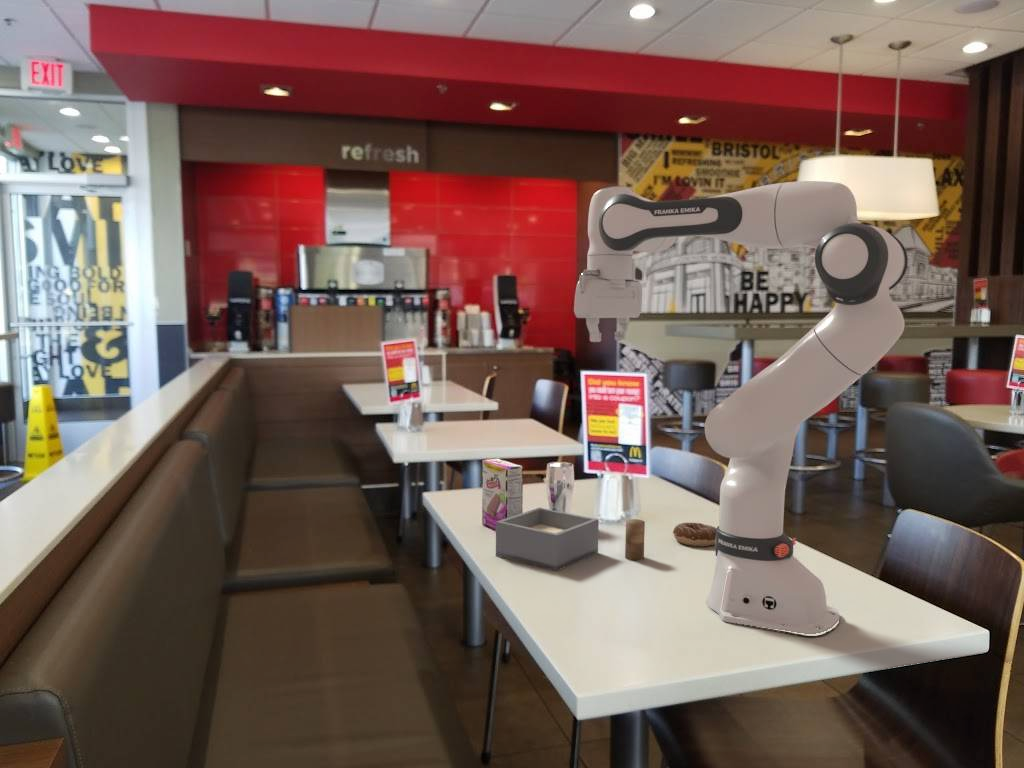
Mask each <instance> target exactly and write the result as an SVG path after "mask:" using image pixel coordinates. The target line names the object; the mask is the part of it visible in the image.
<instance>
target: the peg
mask: <svg viewBox="0 0 1024 768" xmlns="http://www.w3.org/2000/svg"><path fill="white" fill-rule="evenodd" d="M645 523H646V522H645V520H643V519H638V518H637V519H635V518H632V519H626V521H625V546H624V547H625V548H624V549H625V550H624V551H625V552H624V553H625V554H624V556H625V559H626V560H628V561H633V562H635V561H636V562H640V561H643V560H644V558H645V533H646V532H645V531H646V530H645V529H646V528H645V527H646V524H645Z"/></svg>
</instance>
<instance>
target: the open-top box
mask: <svg viewBox="0 0 1024 768" xmlns="http://www.w3.org/2000/svg"><path fill="white" fill-rule="evenodd" d="M599 522H600V519H598V518H594V517H590V516H589V517H588V516H584V515H583V516H582V515H579V514H573V513H570V514H569V513H564V512H559V511H554V510H549V508H543V507H537V508H534V509H531V510H528V511H525V512H522V513H521V514H518V515H515V516H512V517H509V518H506V519H503V520H500V521H497V522H496V530H495V557H500V558H503V559H507V558H508V560H512V561H515V562H519V563H523V562H524V564H527V565H530V564H531V565H532V566H534V565H536V566H535V567H538V566H539V568H542V567H543V568H542V569H546V568H547V569H546V570H550V569H551V571H555V572H557V570H558V571H560V570H562V569H565V568H566V567H569V566H572V565H573V564H576V563H578V562H580V561H583V560H585V559H587V558H589V557H591V556H593V555H596V554H598V553H599V527H600V526H599ZM564 567H565V568H564Z"/></svg>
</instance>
